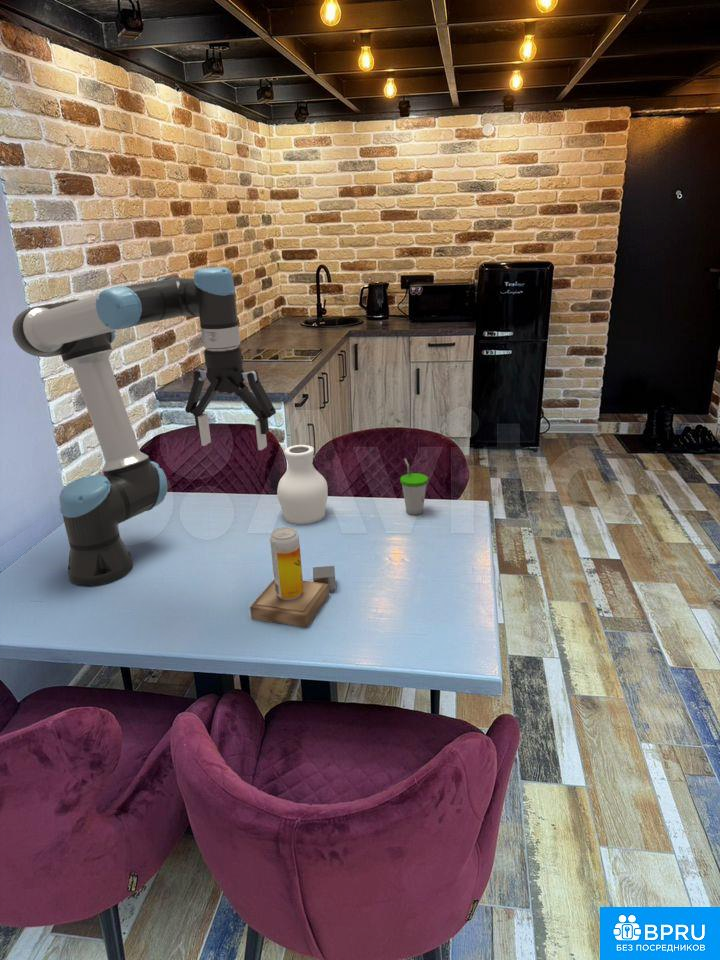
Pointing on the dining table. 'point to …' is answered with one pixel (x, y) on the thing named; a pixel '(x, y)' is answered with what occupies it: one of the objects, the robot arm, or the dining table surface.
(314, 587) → the plinth
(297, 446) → the vase
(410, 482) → the cup
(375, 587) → the dining table surface
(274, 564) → the beer can
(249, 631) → the dining table surface
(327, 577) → the steel block
